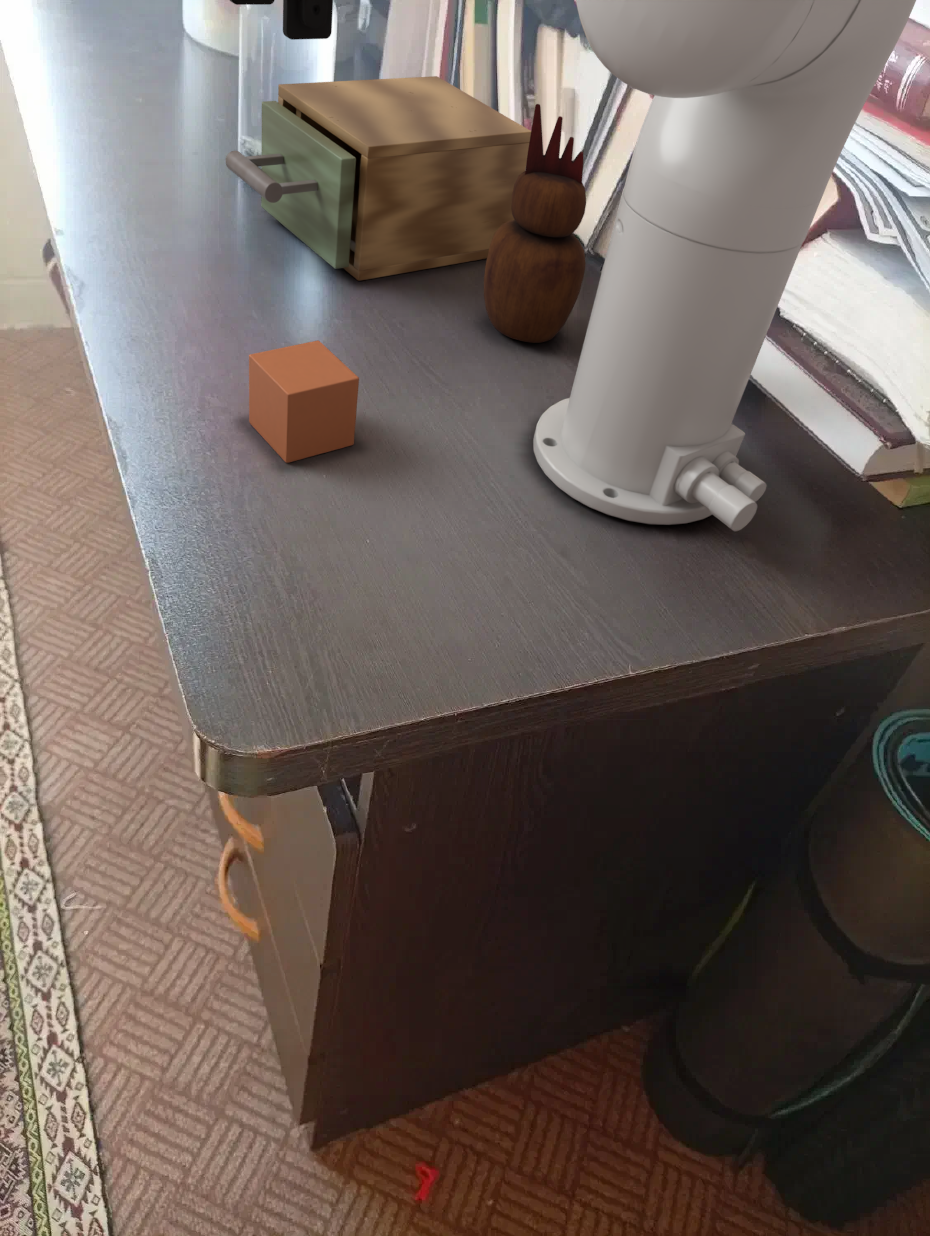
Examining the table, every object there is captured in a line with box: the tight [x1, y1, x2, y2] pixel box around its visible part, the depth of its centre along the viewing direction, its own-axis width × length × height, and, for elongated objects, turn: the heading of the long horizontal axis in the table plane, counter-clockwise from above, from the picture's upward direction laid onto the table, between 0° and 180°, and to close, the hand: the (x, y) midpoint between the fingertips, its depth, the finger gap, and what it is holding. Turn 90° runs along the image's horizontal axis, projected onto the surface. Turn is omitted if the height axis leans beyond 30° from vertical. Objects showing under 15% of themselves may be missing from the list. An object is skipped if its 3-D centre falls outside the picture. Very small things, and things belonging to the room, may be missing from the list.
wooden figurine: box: [483, 103, 587, 344], centre depth 65 cm, size 7×6×15 cm
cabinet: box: [277, 75, 531, 281], centre depth 76 cm, size 15×13×10 cm
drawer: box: [225, 100, 362, 270], centre depth 74 cm, size 18×11×8 cm, turn 126°
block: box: [248, 340, 360, 464], centre depth 56 cm, size 4×4×4 cm
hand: (278, 17), depth 63 cm, fingers open, 6 cm apart
